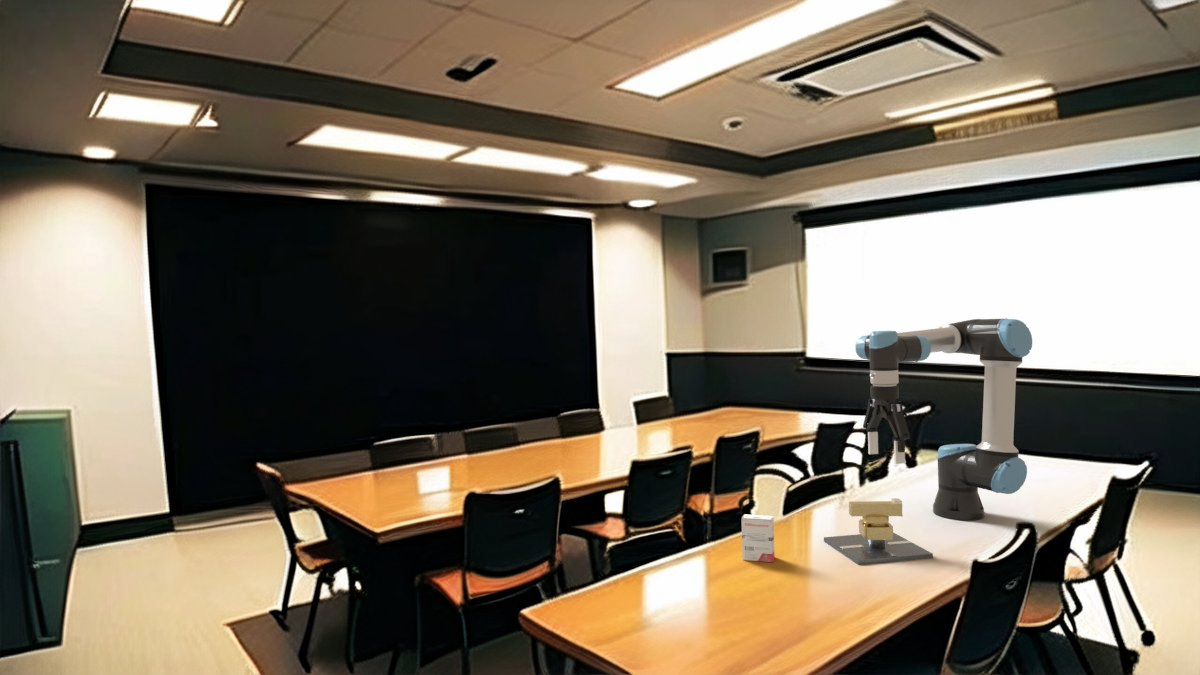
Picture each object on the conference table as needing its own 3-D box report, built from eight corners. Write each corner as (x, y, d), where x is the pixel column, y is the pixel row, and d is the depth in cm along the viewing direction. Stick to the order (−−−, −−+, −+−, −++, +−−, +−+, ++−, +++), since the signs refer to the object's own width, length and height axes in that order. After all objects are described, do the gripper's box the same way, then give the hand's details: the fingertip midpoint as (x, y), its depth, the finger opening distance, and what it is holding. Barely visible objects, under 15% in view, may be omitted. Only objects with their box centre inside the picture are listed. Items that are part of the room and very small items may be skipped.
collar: (847, 531, 204) (846, 496, 204) (896, 531, 203) (895, 496, 202) (854, 539, 196) (853, 503, 196) (905, 539, 195) (905, 503, 195)
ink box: (775, 556, 196) (774, 514, 196) (773, 562, 192) (772, 520, 191) (744, 554, 199) (743, 513, 199) (741, 560, 194) (740, 518, 194)
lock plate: (891, 535, 211) (891, 512, 211) (932, 557, 191) (932, 532, 191) (823, 541, 208) (823, 517, 208) (858, 564, 188) (857, 538, 188)
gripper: (850, 381, 210) (851, 451, 211) (897, 389, 186) (899, 468, 186) (873, 380, 211) (874, 449, 212) (922, 388, 187) (924, 466, 187)
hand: (886, 458), depth 199 cm, fingers open, 13 cm apart
